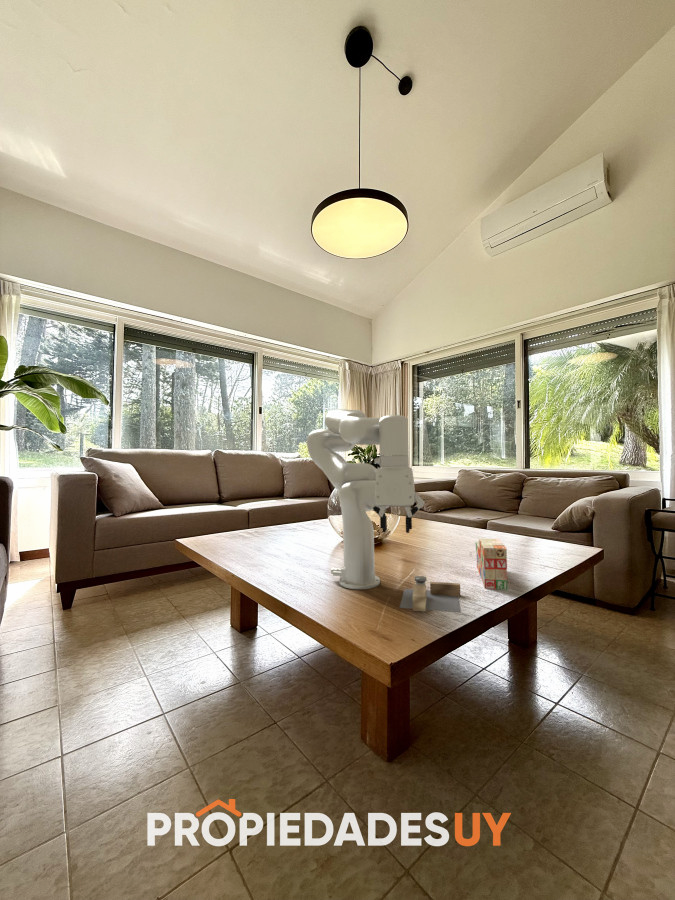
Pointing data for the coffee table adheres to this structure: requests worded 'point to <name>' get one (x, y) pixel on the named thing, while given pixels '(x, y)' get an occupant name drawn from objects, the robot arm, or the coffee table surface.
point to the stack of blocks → (492, 563)
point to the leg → (419, 598)
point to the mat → (432, 601)
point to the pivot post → (420, 580)
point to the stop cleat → (445, 588)
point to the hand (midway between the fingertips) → (396, 531)
